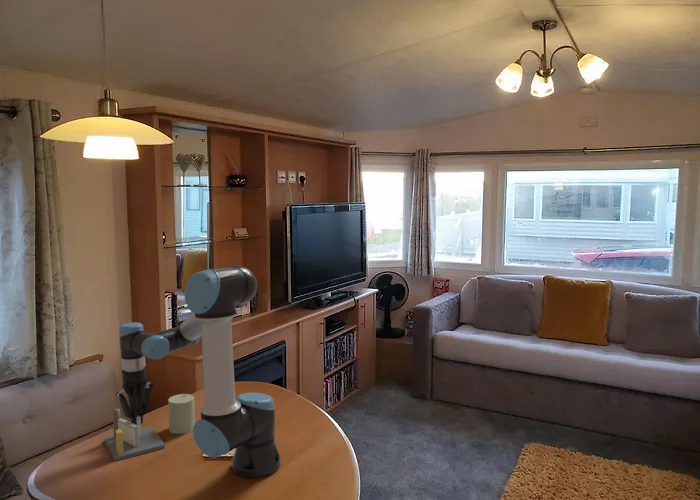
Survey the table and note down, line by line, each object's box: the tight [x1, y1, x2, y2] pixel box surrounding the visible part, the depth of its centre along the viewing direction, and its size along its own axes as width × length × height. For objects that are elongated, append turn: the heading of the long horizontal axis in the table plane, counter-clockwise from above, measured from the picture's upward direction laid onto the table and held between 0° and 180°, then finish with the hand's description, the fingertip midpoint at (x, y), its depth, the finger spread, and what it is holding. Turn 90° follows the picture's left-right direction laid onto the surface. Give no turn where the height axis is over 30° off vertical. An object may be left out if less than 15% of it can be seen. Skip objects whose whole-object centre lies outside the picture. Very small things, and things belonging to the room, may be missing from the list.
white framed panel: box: [118, 417, 139, 447], centre depth 183 cm, size 10×2×7 cm, turn 53°
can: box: [167, 393, 196, 435], centre depth 197 cm, size 9×9×12 cm
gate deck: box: [103, 408, 166, 462], centre depth 184 cm, size 17×16×11 cm
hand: (137, 434), depth 185 cm, fingers closed
